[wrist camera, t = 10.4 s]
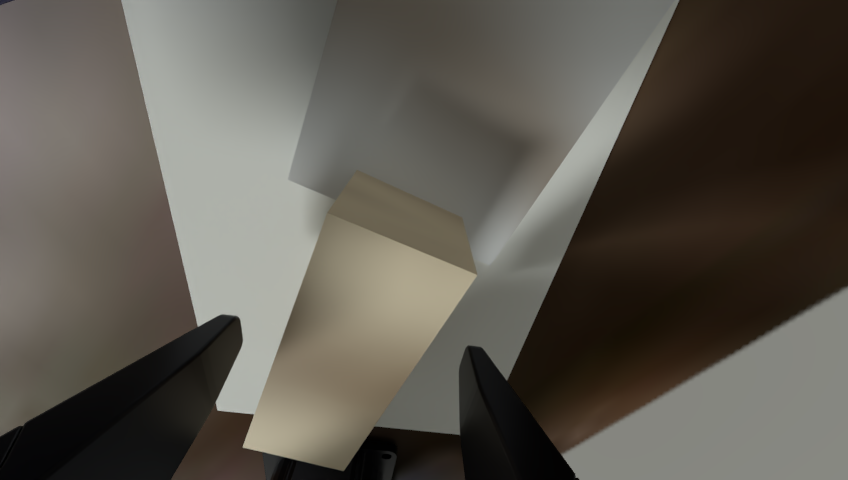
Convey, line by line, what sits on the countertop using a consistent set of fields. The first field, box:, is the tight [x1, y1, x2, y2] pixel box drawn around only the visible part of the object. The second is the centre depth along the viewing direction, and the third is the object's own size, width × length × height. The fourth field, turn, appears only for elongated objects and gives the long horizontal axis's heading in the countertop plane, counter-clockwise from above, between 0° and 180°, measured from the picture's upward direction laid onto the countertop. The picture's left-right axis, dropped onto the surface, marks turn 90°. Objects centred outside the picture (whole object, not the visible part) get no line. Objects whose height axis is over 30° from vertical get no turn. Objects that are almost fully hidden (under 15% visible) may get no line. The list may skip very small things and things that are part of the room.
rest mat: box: [121, 0, 679, 435], centre depth 10 cm, size 20×12×1 cm, turn 170°
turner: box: [243, 0, 674, 471], centre depth 8 cm, size 14×6×4 cm, turn 154°
